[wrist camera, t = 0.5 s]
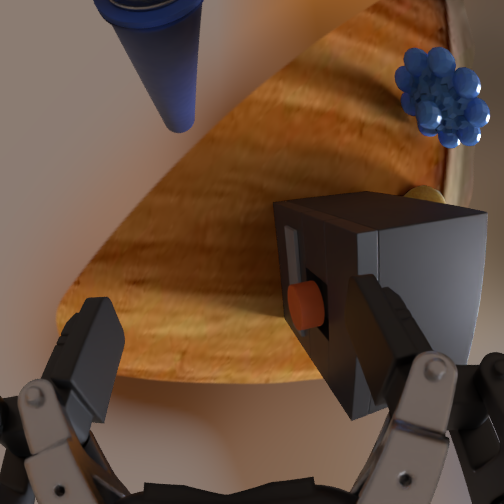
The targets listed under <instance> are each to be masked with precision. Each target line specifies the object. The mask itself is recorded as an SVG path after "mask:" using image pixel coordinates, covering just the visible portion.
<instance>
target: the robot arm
mask: <svg viewBox="0 0 504 504" xmlns="http://www.w3.org/2000/svg"><path fill="white" fill-rule="evenodd" d="M108 1H109V2H110V3H111V4H112V5H114V6H115V7H117V8H119V9H122V10H125V11H130V12H147V11H153V10H157V9H161V8H164V7H166V6H169V5H171V4H173V3H175V2H177V1H178V0H108ZM344 320H345V326H346V329H347V332H348V335H349V337H350V340H351V342H352V345H353V347H354V350H355V353H356V355H357V358H358V360H359V363H360V366H361V368H362V371H363V374H364V376H365V379H366V382H367V384H368V387H369V390H370V393H371V395H372V398H373V401H374V404H375V406H378V405H382V404H386V403H387V406H388V408H389V413H388V415H387V417H386V420H385V422H384V425H383V427H382V430H381V431H380V434H379V436H378V438H377V441H376V443H375V445H374V447H373V449H372V452H371V454H370V456H369V458H368V460H367V462H366V464H365V466H364V468H363V469H362V471H361V473H360V474H359V476H358V478H357V480H356V482H355V483H354V485H353V487H352V489H351V491H350V492H347V491H345V490H342V489H339V488H335V487H330V486H325V485H315V483H314V477H308V478H302V479H295V480H287V481H279V482H271V483H267V484H265V485H261V486H258V487H255V488H252V489H248V490H245V491H241V492H237V493H233V494H229V495H224V494H218V493H213V492H209V491H205V490H201V489H196V488H192V487H188V486H185V485H170V484H155V483H144V491H142V492H137V493H134V494H130V492H129V491H128V490H127V488H126V487H125V486H124V485H123V484H122V482H121V481H120V480H119V479H118V478H117V476H116V475H115V474H114V472H113V470H112V469H111V467H110V465H109V463H108V461H107V460H106V458H105V456H104V454H103V452H102V450H101V448H100V447H99V445H98V443H97V441H96V439H95V437H94V435H93V433H92V432H91V430H90V427H91V423H92V422H95V423H104V421H105V417H106V413H107V408H108V404H109V400H110V396H111V392H112V389H113V385H114V381H115V377H116V373H117V370H118V366H119V363H120V359H121V355H122V352H123V349H124V344H125V337H124V331H123V328H122V326H121V324H120V321H119V319H118V317H117V314H116V312H115V310H114V307H113V305H112V302H111V300H110V299H109V298H108V297H94V298H87V299H86V300H85V302H84V304H83V306H82V308H81V310H80V312H79V313H75V314H74V315H73V316H72V317H71V319H70V320H69V321H68V322H67V323H66V325H65V327H64V329H63V331H62V333H61V336H60V337H59V339H58V341H57V345H56V346H55V347H54V350H53V352H52V354H51V356H50V359H49V361H48V363H47V365H46V368H45V370H44V372H43V375H42V377H41V379H35V380H33V381H30V382H29V383H28V384H26V385H25V386H24V387H23V388H22V390H21V391H20V393H19V396H14V397H8V398H2V397H1V396H0V444H2V445H3V446H4V447H5V448H6V452H5V456H4V460H3V464H2V468H1V472H0V504H34V501H35V497H36V500H37V502H38V504H430V503H431V501H432V498H433V495H434V493H435V490H436V487H437V484H438V481H439V478H440V475H441V472H442V469H443V466H444V462H445V459H446V456H447V452H448V448H449V438H448V437H446V436H445V433H446V430H449V432H450V435H451V438H452V441H453V443H454V446H455V449H456V452H457V455H458V458H459V461H460V464H461V467H462V471H463V474H464V477H465V481H466V483H467V487H468V491H469V494H470V497H471V501H472V504H504V354H502V353H498V352H493V353H489V354H487V355H486V356H485V357H484V358H483V360H482V361H481V363H480V365H455V363H454V362H453V360H452V359H451V358H450V357H448V356H447V355H445V354H443V353H441V352H437V351H433V349H432V348H431V346H430V344H429V342H428V341H427V339H426V337H425V336H424V334H423V332H422V330H421V329H420V327H419V326H418V324H417V322H416V321H415V319H414V318H412V314H411V312H410V311H409V309H407V306H406V304H405V303H404V301H403V300H402V298H401V297H400V295H398V294H397V293H396V292H394V291H393V290H392V289H391V288H389V287H383V288H382V287H381V285H380V284H379V282H378V280H377V279H376V277H375V276H374V275H373V274H365V275H357V276H351V277H350V278H349V282H348V290H347V297H346V304H345V311H344ZM489 416H490V418H491V421H492V423H493V426H494V428H495V430H496V433H497V435H498V438H499V440H498V438H497V435H496V433H495V431H494V428H493V426H492V423H491V421H490V419H489ZM499 441H500V443H499Z"/></svg>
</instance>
